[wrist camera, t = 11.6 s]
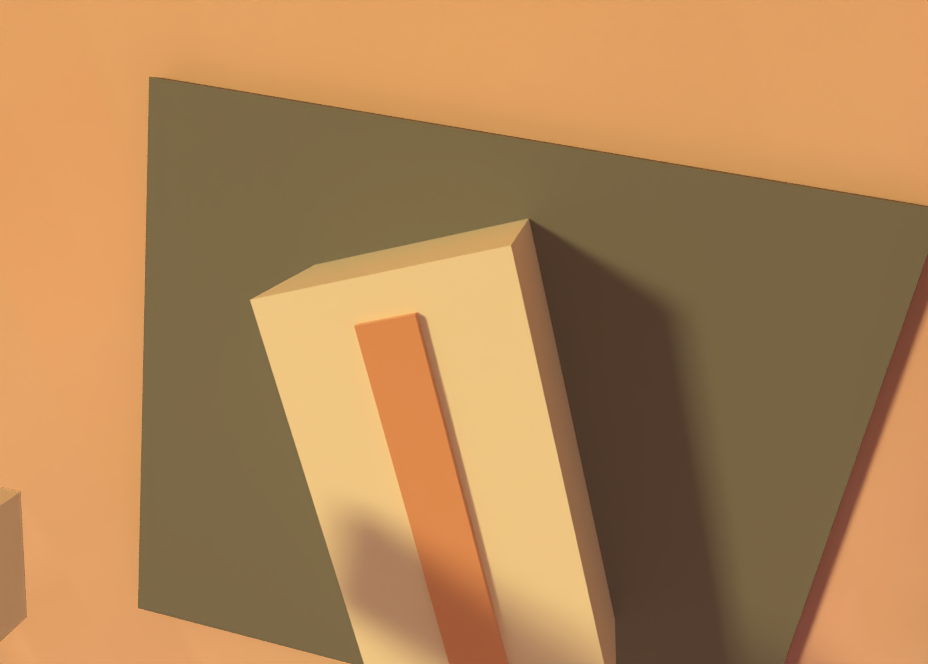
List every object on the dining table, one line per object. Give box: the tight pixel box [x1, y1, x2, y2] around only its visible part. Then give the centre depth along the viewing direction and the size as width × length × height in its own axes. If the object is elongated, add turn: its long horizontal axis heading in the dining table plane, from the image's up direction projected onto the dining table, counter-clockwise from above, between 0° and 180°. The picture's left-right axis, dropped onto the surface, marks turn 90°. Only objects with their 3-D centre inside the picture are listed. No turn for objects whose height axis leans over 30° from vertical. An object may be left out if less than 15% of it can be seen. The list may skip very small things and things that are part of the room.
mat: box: [138, 77, 928, 664], centre depth 22 cm, size 20×17×1 cm
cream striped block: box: [250, 219, 616, 664], centre depth 19 cm, size 12×6×4 cm, turn 13°
